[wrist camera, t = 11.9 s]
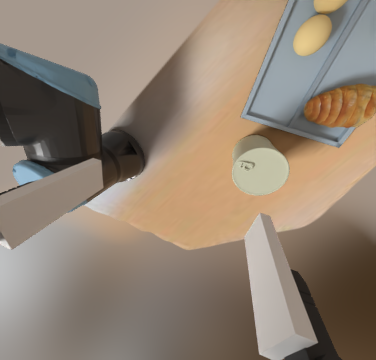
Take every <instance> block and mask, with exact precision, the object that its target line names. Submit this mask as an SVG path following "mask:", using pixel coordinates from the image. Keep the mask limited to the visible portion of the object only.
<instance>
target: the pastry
mask: <svg viewBox="0 0 376 360" xmlns="http://www.w3.org/2000/svg"><path fill="white" fill-rule="evenodd" d="M375 113H376V86H371V85H367V84H362V83H361V84H355V85H347V86H342V87H339V88H336V89H334V90H331V91H328V92H324V93H321V94H319V95H317V96H315V97H313V98H312V99H310V100H309V101H308V102H307V103H306V104H305V106H304V116H305V117H306V119H307V121H310V122H314V123H316V124H318V125H324V126H327V127H329V128H334V127H345V128H350V127H358V126H360V125H362V124H363V123H365V122H366V121H367V120H369V119H371V118H372V117H373V116H374V114H375Z"/></svg>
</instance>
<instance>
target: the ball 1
mask: <svg viewBox="0 0 376 360" xmlns="http://www.w3.org/2000/svg"><path fill="white" fill-rule="evenodd" d="M331 30H332V23H331V20H330V18H329V17H328V16H326V15H316V16H313V17H311V18H309V19H308V20H307V21H305V22H304V23H303V24H302V25H301V26H300V28H299V29H298V31H297V32H296V34H295V37H294V41H293V48H294V51H295V52H296V53H297V54H298V55H300V56H308V55H311V54H313V53H315V52H317V51H318V50H319V49H320V48H321V47H322V46H323V45H324V44H325V43H326V41H327V40H328V38H329V36H330V33H331Z"/></svg>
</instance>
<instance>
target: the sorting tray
mask: <svg viewBox="0 0 376 360" xmlns="http://www.w3.org/2000/svg"><path fill="white" fill-rule="evenodd" d="M316 15H326V16H328V17H329V18H330V20H331V23H332V30H331V33H330V36H329V38H328V40H327V41H326V43H325V44H324V45H323V46H322V47H321V48H320V49H319V50H318V51H317V52H315V53H313V54H311V55H308V56H300V55H298V54H297V53H296V52H295V51H294V48H293V41H294V37H295V34H296V32H297V31H298V29H299V28H300V26H301V25H302V24H303V23H304V22H305V21H307V20H308V19H309V18H311V17H313V16H316ZM361 83H362V84H367V85H371V86H376V0H348V1H347V2H346V3H345V4H344V5H342V6H341V7H340V8H339V9H337V10H336V11H334V12H332V13H329V14H319V13H318V12H317V11H316V10H315V8H314V0H288V2H287V5H286V7H285V10H284V12H283V15H282V17H281V20H280V22H279V24H278V27H277V29H276V32H275V34H274V37H273V39H272V41H271V44H270V46H269V49H268V51H267V54H266V56H265V58H264V61H263V63H262V66H261V68H260V71H259V73H258V76H257V78H256V80H255V83H254V85H253V88H252V90H251V93H250V95H249V97H248V100H247V102H246V105H245V107H244V110H243V112H242V115H241V118H245V119H248V120H251V121H254V122H258V123H261V124H264V125H267V126H270V127H274V128H277V129H280V130H283V131H287V132H290V133H293V134H296V135H299V136H303V137H306V138H309V139H312V140H316V141H319V142H322V143H325V144H328V145H332V146H335V147H338V148H340V146H341V145H342V144H343V143H344V141H345V140H346V139H347V138H348V136H349V135H350V134H351V133H352V131H353V130H354V129H355V128H356V127H350V128H345V127H334V128H329V127H327V126H324V125H318V124H316V123H314V122H310V121H307V119H306V117H305V116H304V106H305V104H306V103H307V102H308V101H309V100H310V99H312V98H313V97H315V96H317V95H319V94H321V93H324V92H328V91H331V90H334V89H336V88H339V87H342V86H347V85H355V84H361Z"/></svg>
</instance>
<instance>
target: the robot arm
mask: <svg viewBox="0 0 376 360" xmlns="http://www.w3.org/2000/svg"><path fill="white" fill-rule="evenodd" d="M100 109H101V106H100V104H99V96H98V88H97V85H96V83H95V81H94V80H93V79H92V78H91V77H90V76H88V75H86V74H84V73H81V72H78V71H75V70H73V69H70V68H67V67H64V66H62V65H59V64H56V63H53V62H50V61H48V60H45V59H42V58H39V57H36V56H34V55H31V54H28V53H25V52H22V51H20V50H17V49H14V48H12V47H9V46H6V45H3V44H0V145H2V146H24V150H25V153H26V156H27V160H21V161H19V162H18V163H16V164H15V165H14V166H13V175H14V177H15V179H16V181H17V182H18V184H19V185H20V186H17V188H12V189H10V190H8V191H5V192H2V193H0V245H2V246H4V247H6V248H9V249H11V250H12V249H14V248H15V247H17V246H18V245H20V244H21V243H23V242H24V241H26V240H27V239H29V238H30V237H32V236H33V235H35V234H36V233H38V232H39V231H40V230H42V229H43V228H45V227H46V226H48V225H49V224H51V223H52V222H54V221H55V220H57V219H58V218H60V217H61V216H63V215H64V214H66V213H68V212H71V211H73V210H75V209H77V208H78V207H80V206H82V205H85V204H86V203H88V202H89V201H91V200H92V199H93V198H95V197H96V196H98V195H99V194H101V193H102V192H104V191H105V190H107V189H108V188H110V187H111V186H112V185H114V184H115V183H118V182H123V181H128V180H131V179H133V178H135V177H136V176H138V175H139V174H140V173H141V172H142V170H143V168H144V155H143V151H142V149H141V147H140V145H139V144H138V143H137V141H136V140H135V139H134V138H133V137H132V136H130V135H129V134H127V133H125V132H122V131H110V132H106V133H104V134H103V135H102V132H101V117H100ZM244 238H245V246H246V254H247V261H248V269H249V277H250V285H251V293H252V300H253V309H254V316H255V324H256V332H257V340H258V348H259V354H260V355H262V356H265V357H267V358H269V359H272V360H281V359H283V358H284V359H285V360H342V359H341V358H340V357H339V356H338V354H337V352H336V350H335V349H334V346H333V344H332V341H331V339H330V337H329V335H328V332H327V330H326V328H325V325H324V323H323V321H322V318H321V316H320V314H319V312H318V309H317V308H316V307H315V303H314V300H313V298H312V297H311V294H310V291H309V289H308V287H307V285H306V282H305V281H304V280H303V278H302V277H301V275H300V274H299V273H298V272H297V271H294V270H291V269H290V267H289V265H288V262H287V260H286V257H285V254H284V252H283V249H282V246H281V244H280V241H279V238H278V236H277V233H276V230H275V228H274V225H273V222H272V220H271V217H270V216H268V215H265V214H262V213H259V214H258V216H257V218H256V219H255V221H254V222H253V224H252V226H251V227H250V229H249V230H248V232H247V234H246V235H245V237H244Z"/></svg>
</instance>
